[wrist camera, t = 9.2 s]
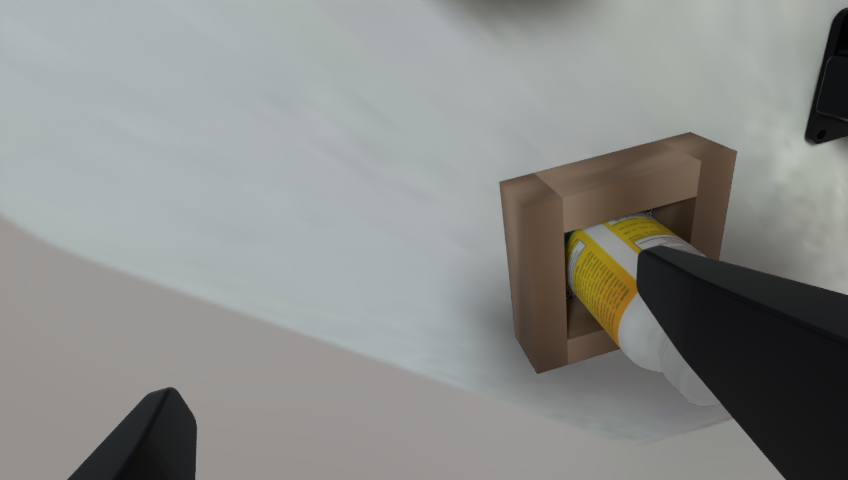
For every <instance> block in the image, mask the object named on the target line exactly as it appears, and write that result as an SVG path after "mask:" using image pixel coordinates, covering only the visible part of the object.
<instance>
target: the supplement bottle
mask: <svg viewBox="0 0 848 480" xmlns="http://www.w3.org/2000/svg"><path fill="white" fill-rule="evenodd" d="M657 245H663V246H667V247H671V248H674V249H678V250H682V251H685V252H689V253H693V254H697V255H700V256H704V257H706V256H705V255H704V254H702V253H701V252H699V251H698V250H697V249H695V248H694V247H693V246H691V245H690V244H688V243H687V242H686V241H684V240H683V239H681V238H680V237H679V236H677V235H676V234H674V233H673V232H672V231H670V230H669V229H668V228H666V227H665V226H663V225H662V224H661V223H659V222H658V221H656V220H655V219H654V218H652V217H651V216H650V215H648V214H647V213H645V212H644V211H642V212H638V213H634V214H631V215H627V216H624V217H620V218H616V219H613V220H609V221H605V222H602V223H598V224H595V225H591V226H587V227H584V228H580V229H576V230H573V231H569V232H566V233H564V252H565V283H566V284H567V285H568V286H569V287H570V289H571V290H572V291H573V292H574V293H575V295H576V296H577V297H578V298H579V300H580V301H581V302H582V303H583V304H584V305H585V307H586V308H587V309H588V310H589V311H590V313H591V314H592V315H593V316H594V318H595V319H596V320H597V321H598V322H599V324H600V325H601V326H602V327H603V328H604V329H605V331H606V332H607V333H608V334H609V336H610V337H611V338H612V339H613V340H614V342H615V343H616V344H617V346H618V347H619V348H620V349H621V350H622V352H623V353H624V354H625V355H626V356H627V357H628V358H629V359H630V360H631V361H632V362H634V363H635V364H636V365H638V366H640V367H642V368H644V369H647V370H651V371H655V372H663V375H664V377H665V378H666V380H667V381H668V382H669V383H670V384H672V385H673V387H674V388H675V389H676V390H677V391H678V392H679V393H680V394H681V395H682V396H683V397H684V398H685V399H686V400H687V401H689V402H690V403H693V404H696V405H701V406H712V405H717V404H721V403H720V402H719V400H718V399H717V398H716V397H715V396H714V395H713V393H712V392H711V391H710V390H709V389H708V387H707V386H706V385H705V384H704V383H703V382H702V380H701V379H700V378H699V377H698V376H697V375H696V373H695V372H694V371H693V370H692V369H691V367H690V366H689V365H688V364H687V363H686V361H685V360H684V359H683V358H682V356H681V355H680V354H679V352H678V351H677V349H676V348H675V347H674V345H673V344H672V342H671V341H670V339H669V338H668V336H667V335H666V334H665V332H664V331H663V329H662V328H661V326H660V325H659V323H658V322H657V320H656V319H655V317H654V316H653V314H652V313H651V312H650V310H649V309H648V307H647V306H646V304H645V303H644V301H643V300H642V298H641V297H640V295H639V293H638V291H637V287H636V275H637V258H638V254H639V252H640V251H641V250H643V249H646V248H650V247H653V246H657Z"/></svg>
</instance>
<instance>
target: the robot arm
mask: <svg viewBox="0 0 848 480" xmlns="http://www.w3.org/2000/svg"><path fill="white" fill-rule="evenodd" d="M846 136H848V8H845V9H843V10H841V11H840V12H839V13H838V14H837V16H836V17H835V19H834V22H833V26H832V30H831V34H830V39H829V43H828V47H827V51H826V55H825V59H824V63H823V67H822V72H821V76H820V80H819V84H818V88H817V92H816V96H815V100H814V104H813V109H812V113H811V117H810V121H809V125H808V129H807V133H806V139H807V141H809V142H812V143H815V144H820V143H823V142H827V141H831V140H834V139H838V138H842V137H846ZM636 287H637V291H638V293H639V295H640V297H641V298H642V300H643V301H644V303H645V304H646V306H647V307H648V309H649V310H650V312H651V313H652V314H653V316H654V317H655V319H656V320H657V322H658V323H659V325H660V326H661V328H662V329H663V331H664V332H665V334H666V335H667V336H668V338H669V339H670V341H671V342H672V344H673V345H674V347H675V348H676V349H677V351H678V352H679V354H680V355H681V356H682V358H683V359H684V360H685V361H686V363H687V364H688V365H689V366H690V367H691V369H692V370H693V371H694V372H695V373H696V375H697V376H698V377H699V378H700V379H701V380H702V382H703V383H704V384H705V385H706V386H707V387H708V389H709V390H710V391H711V392H712V393H713V395H714V396H715V397H716V398H717V399H718V400H719V402H720V403H721V404H722V405H723V406H724V408H725V409H726V410H727V411H728V412H729V413H730V415H731V416H732V417H733V418H734V419H735V420H736V422H737V423H738V424H739V425H740V426H741V427H742V429H743V430H744V431H745V432H746V433H747V434H748V436H749V437H750V438H751V439H752V441H753V442H754V443H755V444H756V445H757V446H758V448H759V449H760V450H761V451H762V452H763V453H764V455H765V456H766V457H767V458H768V459H769V461H770V462H771V463H772V464H773V465H774V466H775V468H776V469H777V470H778V471H779V472H780V473H781V474H782V476H783V477H784V478H785V479H786V480H848V295H845V294H842V293H838V292H834V291H830V290H827V289H823V288H819V287H816V286H812V285H808V284H804V283H801V282H797V281H793V280H790V279H786V278H782V277H778V276H775V275H771V274H767V273H764V272H760V271H756V270H752V269H749V268H745V267H741V266H737V265H734V264H730V263H726V262H723V261H719V260H715V259H711V258H708V257H704V256H700V255H697V254H693V253H689V252H685V251H682V250H678V249H674V248H671V247H667V246H663V245H657V246H653V247H650V248H646V249H643V250H641V251H640V252H639V254H638V258H637V275H636ZM196 441H197V425H196V420H195V417H194V415H193V414H192V412H191V411H190V409H189V408H188V406H187V404H186V403H185V401H184V400H183V398H182V397H181V395H180V394H179V392H178V391H177V390H176V389H175V388H173V387H168V388H165V389H161V390H158V391H154V392H151V393H149V394H147V395H146V396H145V397H144V398H143V399H142V400H141V401H140V402H139V404H138V405H137V406H136V407H135V408H134V409H133V410H132V411H131V412H130V413H129V414H128V415H127V416H126V417H125V418H124V420H123V421H122V422H121V423H120V424H119V425H118V426H117V427H116V428H115V429H114V430H113V431H112V432H111V434H110V435H109V436H108V437H107V438H106V439H105V440H104V441H103V442H102V443H101V444H100V445H99V446H98V447H97V448H96V450H95V451H94V452H93V453H92V454H91V455H90V456H89V457H88V458H87V459H86V460H85V461H84V462H83V463H82V464H81V465H80V467H79V468H78V469H77V470H76V471H75V472H74V473H73V474H72V475H71V476H70V477H69V478H68V480H195V472H196Z"/></svg>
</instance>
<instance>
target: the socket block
mask: <svg viewBox="0 0 848 480" xmlns="http://www.w3.org/2000/svg"><path fill="white" fill-rule="evenodd" d="M736 154H737V151H735V150H733V149H730V148H728V147H725V146H723V145H720V144H718V143H716V142H713V141H711V140H708V139H706V138H703V137H701V136H698V135H696V134H694V133H691V132H689V133H685V134H681V135H678V136H674V137H670V138H666V139H662V140H658V141H655V142H651V143H647V144H643V145H639V146H635V147H632V148H628V149H624V150H620V151H616V152H612V153H609V154H605V155H601V156H597V157H593V158H590V159H586V160H582V161H578V162H574V163H570V164H567V165H563V166H559V167H555V168H551V169H547V170H544V171H540V172H536V173H532V174H528V175H525V176H521V177H517V178H513V179H509V180H505V181H502V182H499V183H500V192H501V202H502V211H503V221H504V230H505V240H506V249H507V259H508V268H509V278H510V287H511V297H512V306H513V316H514V325H515V335H516V339H517V340H518V342H519V344H520V345H521V347H522V349H523V351H524V352H525V354H526V356H527V357H528V359H529V361H530V363H531V364H532V366H533V368H534V369H535V371H536V373H537V374H539V373H542V372H545V371H549V370H552V369H555V368H558V367H562V366H565V365H568V364H572V363H575V362H578V361H581V360H585V359H588V358H591V357H595V356H598V355H601V354H604V353H608V352H611V351H614V350H618V349H620V348H619V347H618V346H617V344H616V343H615V342H614V340H613V339H612V338H611V337H610V336H609V334H608V333H607V332H606V331H605V329H604V328H603V327H602V326H601V325H600V324H599V322H598V321H597V320H596V319H595V318H594V316H593V315H592V314H591V313H590V311H589V310H588V309H587V308H586V307H585V305H584V304H583V303H582V302H581V301H580V300H579V298H578V297H577V296H575V297H571V298H568V299H566V284H565V252H564V233H566V232H569V231H573V230H576V229H580V228H584V227H587V226H591V225H595V224H598V223H602V222H605V221H609V220H613V219H616V218H620V217H624V216H627V215H631V214H634V213H638V212H642V211H645V210H649V209H653V211H652V218H654V219H655V220H656V221H658V222H659V223H661V224H662V225H663V226H665V227H666V228H668V229H669V230H670V231H672V232H673V233H674V234H676V235H677V236H679V237H680V238H681V239H683V240H684V241H686V242H687V243H688V244H690V245H691V246H693V247H694V248H695V249H697V250H698V251H699V252H701V253H702V254H704V255H705V256H706V257H708V258H711V259H715V260H719V255H720V249H721V243H722V237H723V231H724V225H725V219H726V213H727V207H728V201H729V196H730V190H731V184H732V178H733V172H734V166H735V160H736Z"/></svg>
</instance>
